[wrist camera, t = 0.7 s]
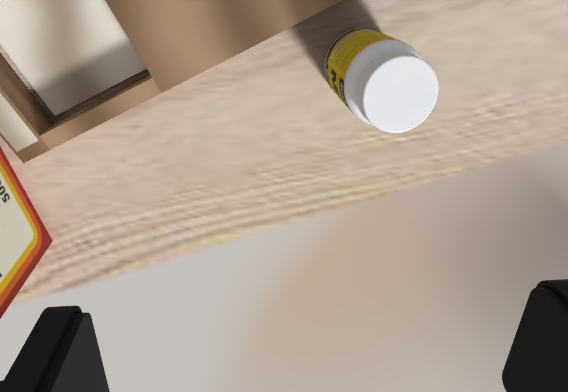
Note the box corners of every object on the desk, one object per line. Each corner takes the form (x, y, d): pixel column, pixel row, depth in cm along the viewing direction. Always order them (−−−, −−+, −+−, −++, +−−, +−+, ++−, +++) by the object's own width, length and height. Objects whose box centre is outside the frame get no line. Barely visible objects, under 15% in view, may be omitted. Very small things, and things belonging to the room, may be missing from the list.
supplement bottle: (308, 63, 29) (335, 93, 22) (363, 10, 28) (411, 23, 20) (352, 113, 31) (391, 157, 23) (405, 65, 30) (463, 96, 22)
